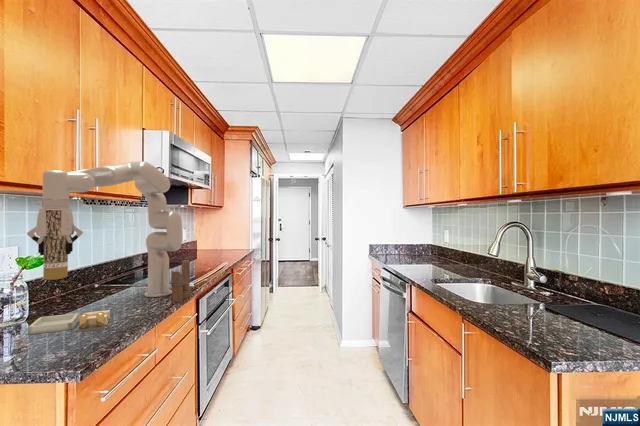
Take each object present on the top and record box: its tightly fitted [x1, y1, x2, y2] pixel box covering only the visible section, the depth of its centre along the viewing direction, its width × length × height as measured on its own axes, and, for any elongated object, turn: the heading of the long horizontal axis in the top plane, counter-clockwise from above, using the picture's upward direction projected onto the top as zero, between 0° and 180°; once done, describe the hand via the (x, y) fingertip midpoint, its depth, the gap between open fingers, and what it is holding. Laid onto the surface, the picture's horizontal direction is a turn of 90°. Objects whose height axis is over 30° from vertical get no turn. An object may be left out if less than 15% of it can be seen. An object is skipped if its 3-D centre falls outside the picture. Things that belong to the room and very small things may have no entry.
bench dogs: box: [75, 312, 106, 333], centre depth 116 cm, size 4×8×5 cm, turn 116°
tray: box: [27, 312, 81, 336], centre depth 118 cm, size 12×12×2 cm
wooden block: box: [171, 259, 192, 303], centre depth 156 cm, size 4×11×18 cm, turn 173°
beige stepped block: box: [84, 309, 111, 326], centre depth 122 cm, size 9×8×4 cm
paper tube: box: [42, 209, 69, 281], centre depth 118 cm, size 7×7×25 cm
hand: (55, 254), depth 118 cm, fingers closed on paper tube, 6 cm apart
